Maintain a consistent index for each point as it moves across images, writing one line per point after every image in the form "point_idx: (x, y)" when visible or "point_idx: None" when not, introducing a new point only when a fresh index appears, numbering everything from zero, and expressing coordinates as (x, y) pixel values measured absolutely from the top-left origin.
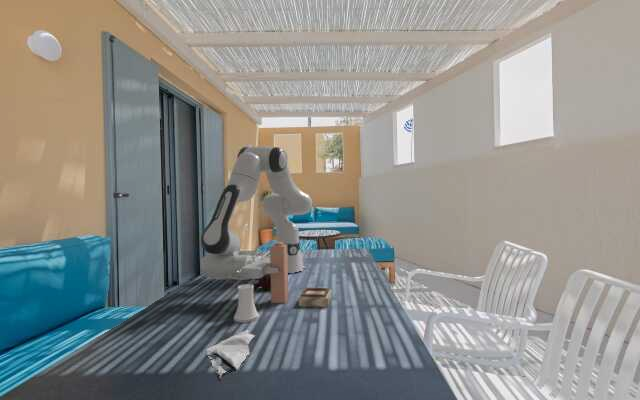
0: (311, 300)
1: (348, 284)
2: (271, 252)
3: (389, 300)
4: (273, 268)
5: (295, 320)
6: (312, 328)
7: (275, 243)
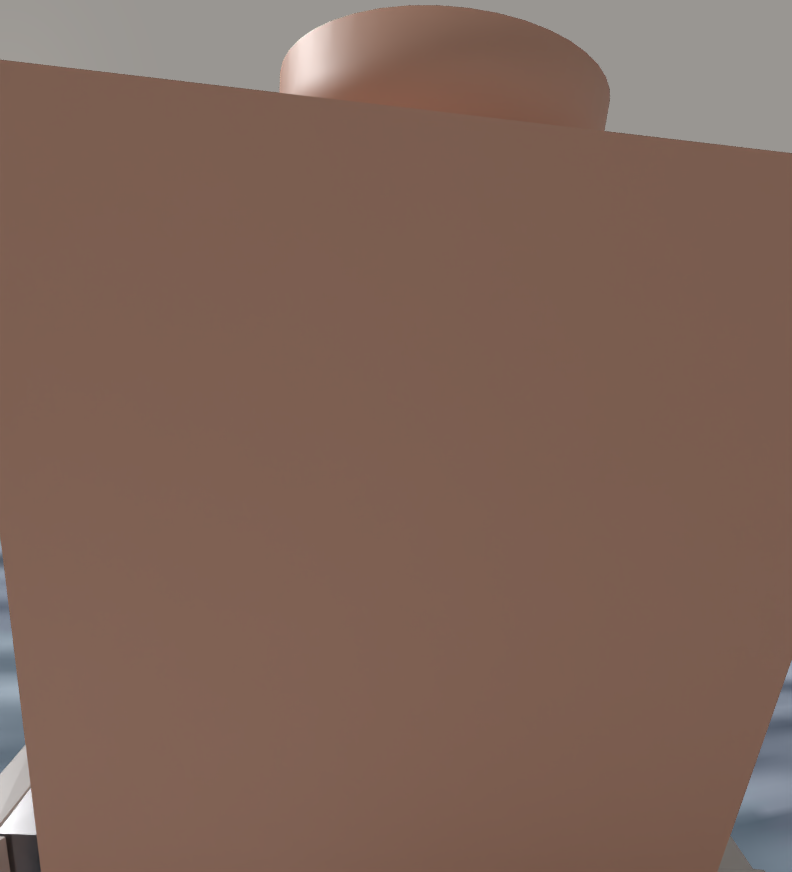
0: None
1: (3, 580)
2: (763, 518)
3: None
4: (736, 864)
5: (779, 816)
6: (782, 707)
7: (605, 100)
